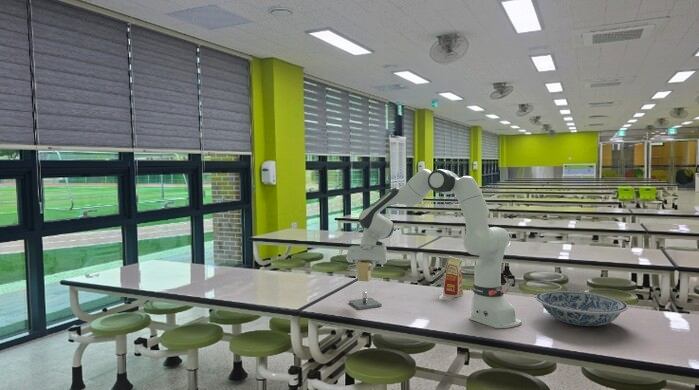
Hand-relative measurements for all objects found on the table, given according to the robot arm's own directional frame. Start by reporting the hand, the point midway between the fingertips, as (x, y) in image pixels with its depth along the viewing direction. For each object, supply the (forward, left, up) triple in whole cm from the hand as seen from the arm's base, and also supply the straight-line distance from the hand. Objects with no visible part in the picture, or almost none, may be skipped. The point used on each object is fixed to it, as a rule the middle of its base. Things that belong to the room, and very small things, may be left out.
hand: (364, 269), depth 223 cm
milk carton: (-4, -49, -18) cm, 52 cm away
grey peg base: (0, 0, -17) cm, 17 cm away
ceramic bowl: (-63, -70, -18) cm, 96 cm away
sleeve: (0, 0, -5) cm, 5 cm away
